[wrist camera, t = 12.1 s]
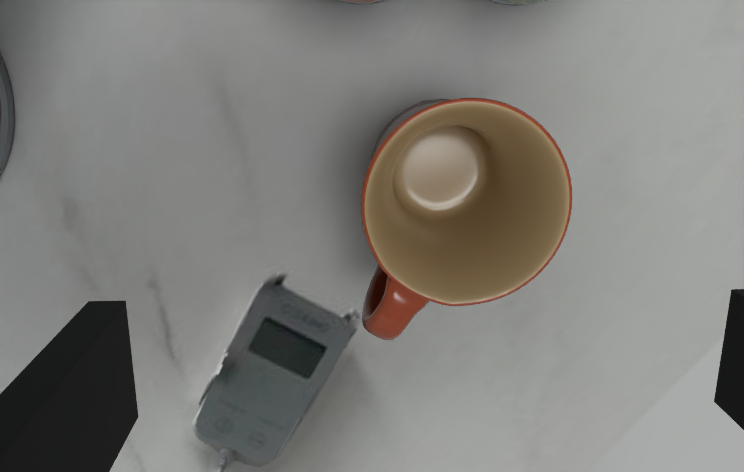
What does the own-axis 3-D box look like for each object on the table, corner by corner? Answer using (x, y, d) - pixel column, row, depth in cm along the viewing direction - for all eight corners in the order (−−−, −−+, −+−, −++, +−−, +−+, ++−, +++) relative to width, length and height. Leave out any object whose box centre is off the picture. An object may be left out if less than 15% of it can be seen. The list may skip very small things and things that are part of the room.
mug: (408, 53, 36) (431, 56, 26) (544, 134, 38) (614, 166, 28) (301, 242, 39) (285, 309, 29) (432, 311, 40) (459, 398, 30)
